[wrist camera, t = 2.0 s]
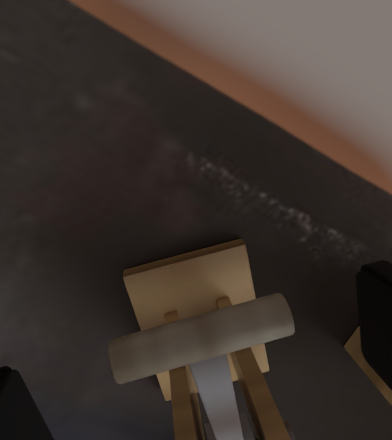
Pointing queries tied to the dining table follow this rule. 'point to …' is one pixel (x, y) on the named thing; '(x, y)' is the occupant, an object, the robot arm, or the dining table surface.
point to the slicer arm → (205, 355)
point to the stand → (366, 364)
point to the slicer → (195, 305)
